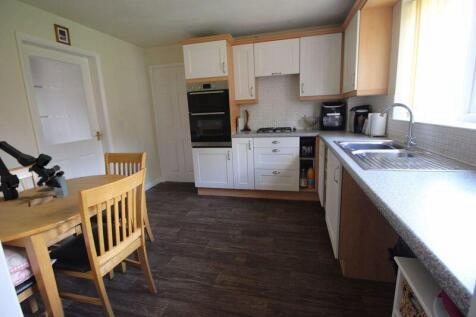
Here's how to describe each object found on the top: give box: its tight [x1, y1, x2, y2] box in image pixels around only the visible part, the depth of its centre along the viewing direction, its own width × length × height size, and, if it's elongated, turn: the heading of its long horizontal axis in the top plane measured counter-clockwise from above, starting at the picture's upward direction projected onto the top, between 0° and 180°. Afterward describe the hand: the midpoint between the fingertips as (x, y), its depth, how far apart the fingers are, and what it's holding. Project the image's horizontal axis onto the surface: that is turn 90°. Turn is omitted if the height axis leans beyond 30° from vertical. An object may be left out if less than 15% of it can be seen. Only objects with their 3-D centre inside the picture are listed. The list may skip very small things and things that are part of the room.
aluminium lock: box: [53, 175, 69, 198], centre depth 152 cm, size 4×5×13 cm
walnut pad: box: [29, 195, 55, 207], centre depth 144 cm, size 11×10×1 cm
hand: (62, 186), depth 152 cm, fingers closed on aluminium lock, 4 cm apart
